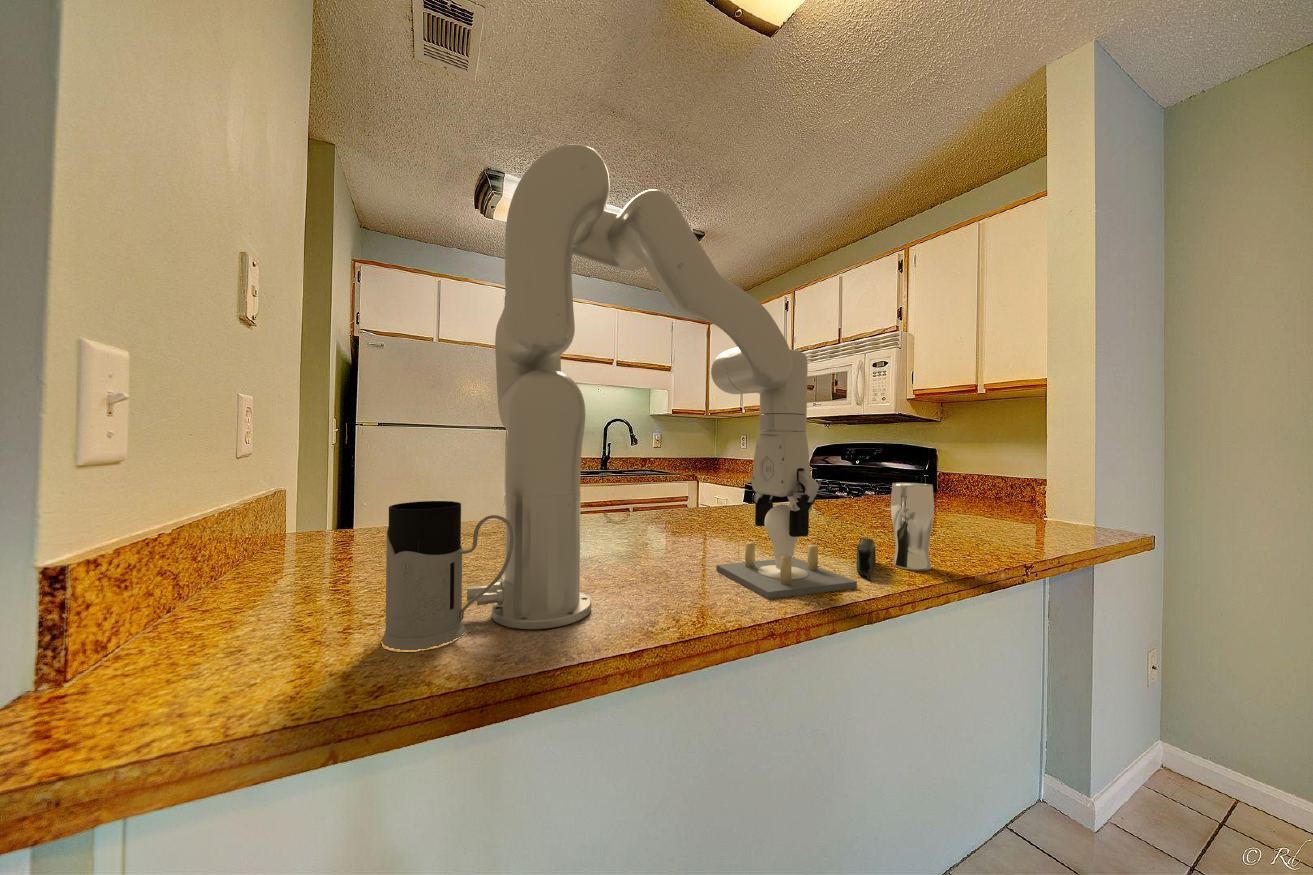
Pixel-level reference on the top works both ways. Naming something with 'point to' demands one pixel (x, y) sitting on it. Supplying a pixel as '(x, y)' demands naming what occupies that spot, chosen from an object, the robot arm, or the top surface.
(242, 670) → the top surface
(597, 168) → the robot arm
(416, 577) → the glass holder
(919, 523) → the beer glass
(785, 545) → the lightbulb
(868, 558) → the mobile phone
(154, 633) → the top surface
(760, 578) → the pin board
